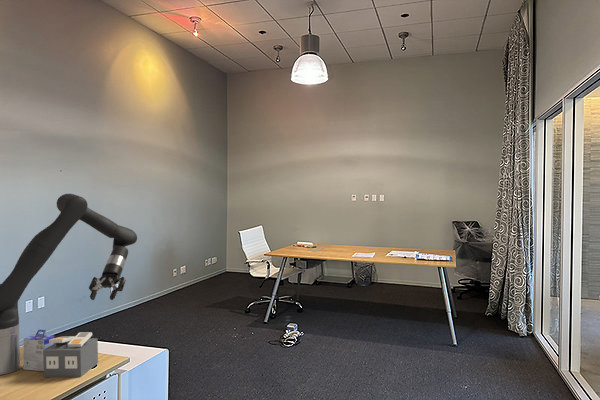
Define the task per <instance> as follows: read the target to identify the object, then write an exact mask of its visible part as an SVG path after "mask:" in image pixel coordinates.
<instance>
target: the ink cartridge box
mask: <svg viewBox="0 0 600 400" xmlns="http://www.w3.org/2000/svg"><path fill="white" fill-rule="evenodd" d="M46 331H47V330H46V329H38V330H37V332H36V333H35V334H32V335H30V336H27V337H25V338H23V340H22V342H23V344H22V345H23V348H22V349H23V355H22V356H23V361H22V362H23V363H22V364H23V366H22V367H23V370H25V371H27V370H28V371H36V372H37V371H38V372H44V365H43V350H45V349H46V348H48V347H50V346H51V345H53V344H55V343H49V340H50V339H54V338H55V335H47V334H46ZM41 332H42V333H41Z"/></svg>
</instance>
